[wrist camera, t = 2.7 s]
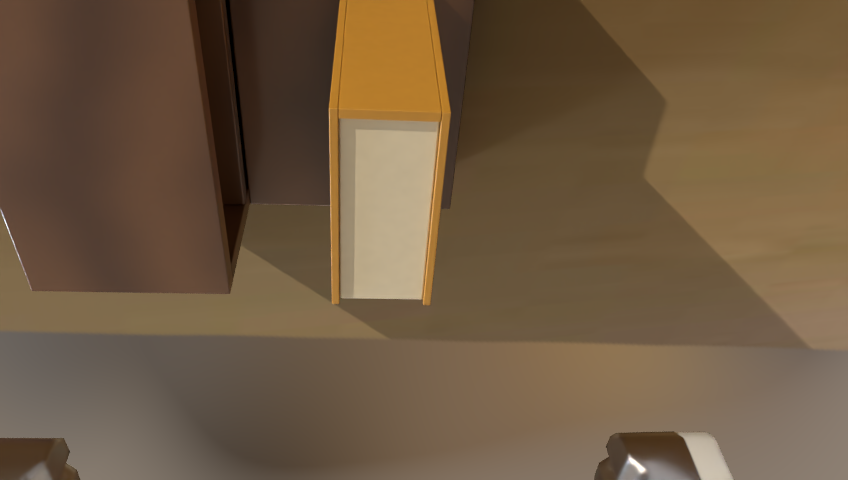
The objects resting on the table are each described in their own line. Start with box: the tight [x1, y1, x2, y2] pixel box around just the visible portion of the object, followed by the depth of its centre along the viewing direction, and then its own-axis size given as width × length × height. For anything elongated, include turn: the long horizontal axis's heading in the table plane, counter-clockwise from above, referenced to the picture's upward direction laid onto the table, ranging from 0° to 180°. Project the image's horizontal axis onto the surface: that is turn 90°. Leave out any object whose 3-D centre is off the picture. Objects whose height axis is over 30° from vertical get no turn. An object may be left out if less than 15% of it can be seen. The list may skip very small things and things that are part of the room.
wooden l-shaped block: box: [0, 0, 475, 294], centre depth 33 cm, size 20×16×11 cm
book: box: [329, 0, 451, 305], centre depth 31 cm, size 4×9×11 cm, turn 176°
